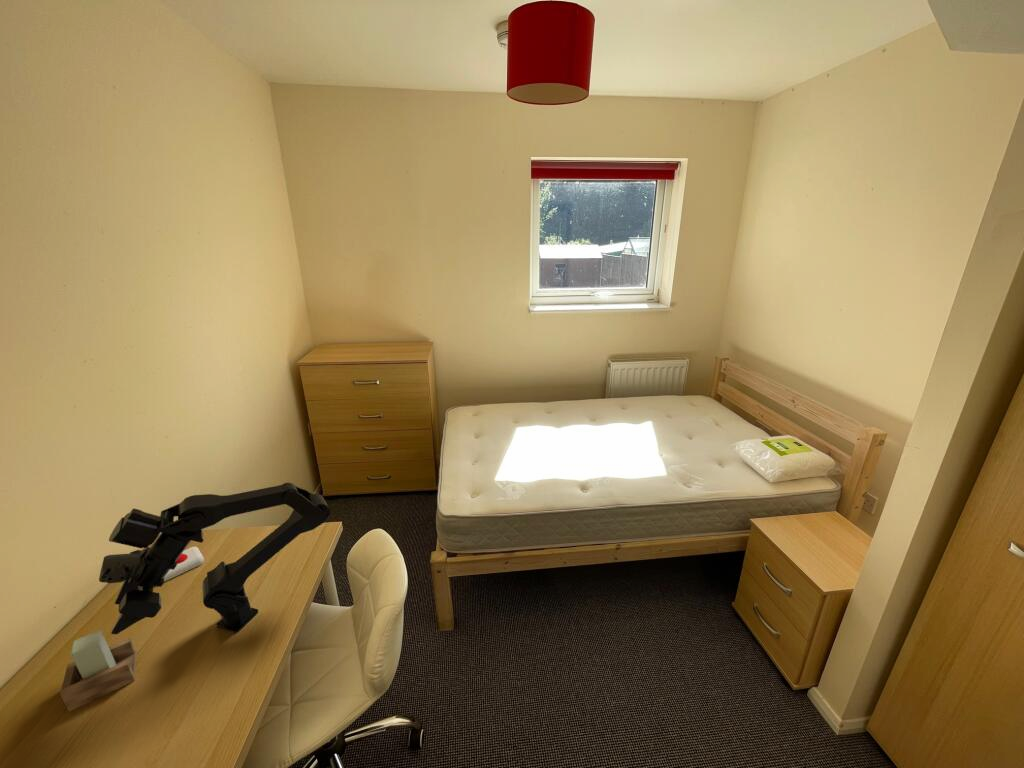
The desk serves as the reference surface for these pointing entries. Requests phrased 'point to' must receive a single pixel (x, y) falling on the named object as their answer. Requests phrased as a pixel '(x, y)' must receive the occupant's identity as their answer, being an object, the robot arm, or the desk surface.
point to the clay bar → (92, 654)
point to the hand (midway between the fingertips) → (115, 618)
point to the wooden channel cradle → (99, 677)
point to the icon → (186, 562)
